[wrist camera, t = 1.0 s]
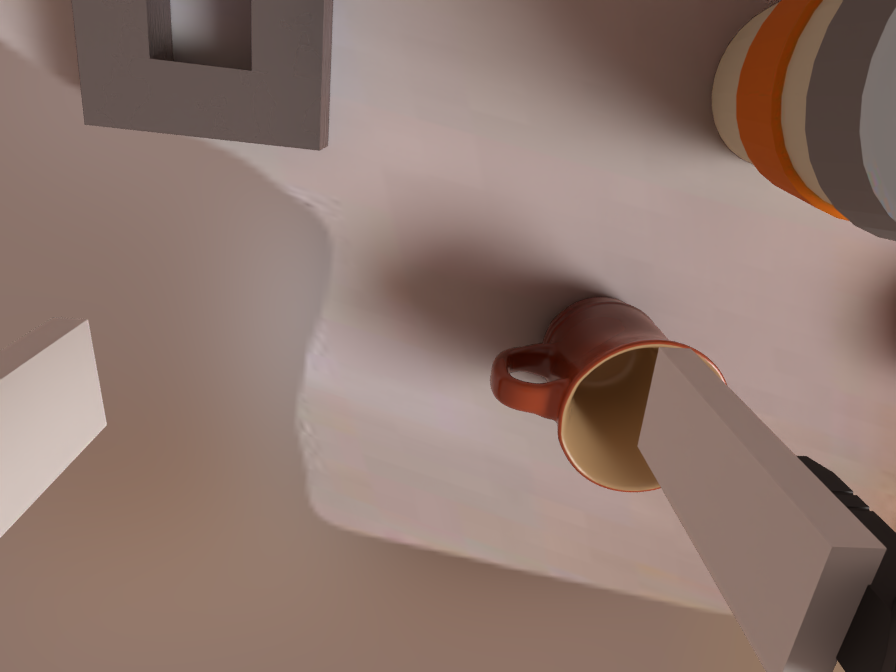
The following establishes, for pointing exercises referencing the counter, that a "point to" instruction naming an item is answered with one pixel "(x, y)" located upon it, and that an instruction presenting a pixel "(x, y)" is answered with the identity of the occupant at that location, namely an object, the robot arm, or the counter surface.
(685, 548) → the counter surface
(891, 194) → the reusable coffee cup
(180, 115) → the square hole fixture
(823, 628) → the robot arm
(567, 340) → the mug
